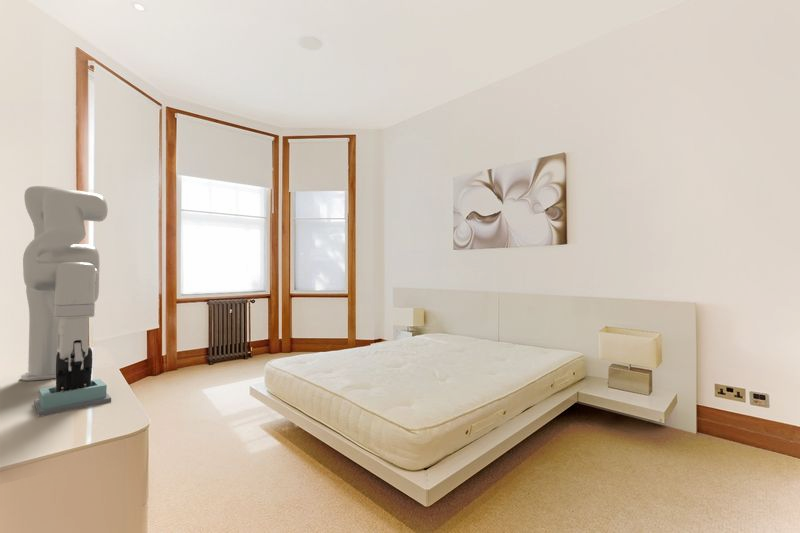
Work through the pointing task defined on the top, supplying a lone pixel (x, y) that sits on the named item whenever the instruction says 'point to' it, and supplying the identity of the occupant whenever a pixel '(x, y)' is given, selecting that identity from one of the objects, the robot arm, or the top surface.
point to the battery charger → (62, 368)
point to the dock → (71, 398)
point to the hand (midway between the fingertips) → (73, 384)
